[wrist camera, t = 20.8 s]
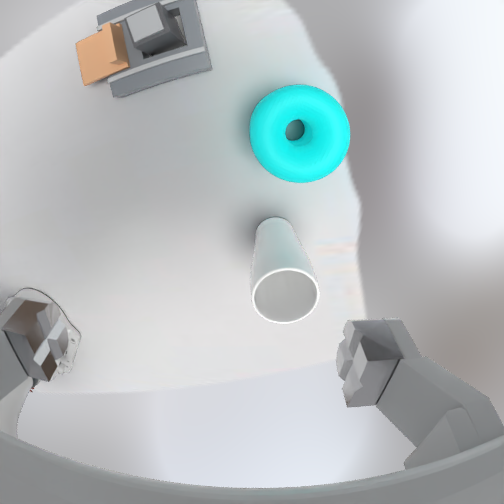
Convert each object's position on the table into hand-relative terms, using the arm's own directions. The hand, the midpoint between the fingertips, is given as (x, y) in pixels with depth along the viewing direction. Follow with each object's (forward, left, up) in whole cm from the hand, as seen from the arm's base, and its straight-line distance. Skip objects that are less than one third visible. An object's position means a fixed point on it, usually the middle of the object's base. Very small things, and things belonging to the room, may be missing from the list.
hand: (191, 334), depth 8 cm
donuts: (+5, -5, -33) cm, 34 cm away
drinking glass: (-9, -9, -33) cm, 36 cm away
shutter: (+7, +20, -30) cm, 37 cm away
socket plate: (+10, +15, -33) cm, 38 cm away
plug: (+11, +14, -33) cm, 38 cm away
